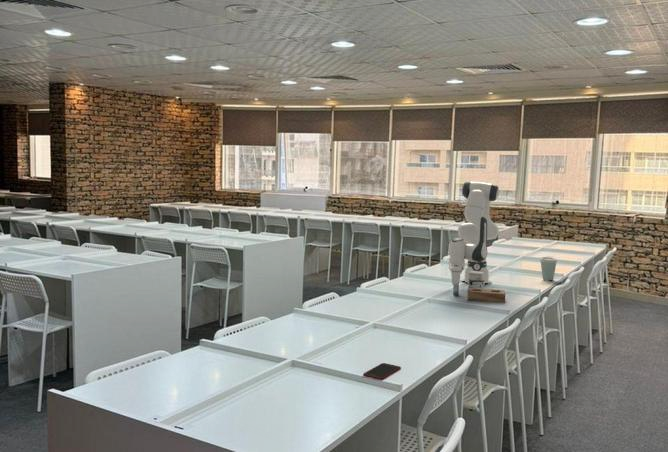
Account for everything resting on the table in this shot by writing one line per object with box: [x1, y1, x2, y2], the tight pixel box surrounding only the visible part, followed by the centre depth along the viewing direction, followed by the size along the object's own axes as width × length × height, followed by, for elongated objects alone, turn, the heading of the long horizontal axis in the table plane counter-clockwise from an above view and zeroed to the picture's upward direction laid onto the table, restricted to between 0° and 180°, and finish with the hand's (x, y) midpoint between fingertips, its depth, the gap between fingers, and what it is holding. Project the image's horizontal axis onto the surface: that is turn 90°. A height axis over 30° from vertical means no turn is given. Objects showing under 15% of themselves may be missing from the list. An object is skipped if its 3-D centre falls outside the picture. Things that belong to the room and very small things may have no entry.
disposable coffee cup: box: [540, 256, 558, 281], centre depth 380 cm, size 11×11×15 cm
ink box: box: [467, 271, 485, 289], centre depth 341 cm, size 8×5×12 cm, turn 62°
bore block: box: [467, 287, 506, 304], centre depth 319 cm, size 12×20×5 cm, turn 75°
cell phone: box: [363, 362, 402, 381], centre depth 200 cm, size 8×15×1 cm, turn 146°
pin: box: [452, 284, 460, 297], centre depth 330 cm, size 3×3×8 cm
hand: (456, 289), depth 330 cm, fingers open, 4 cm apart
